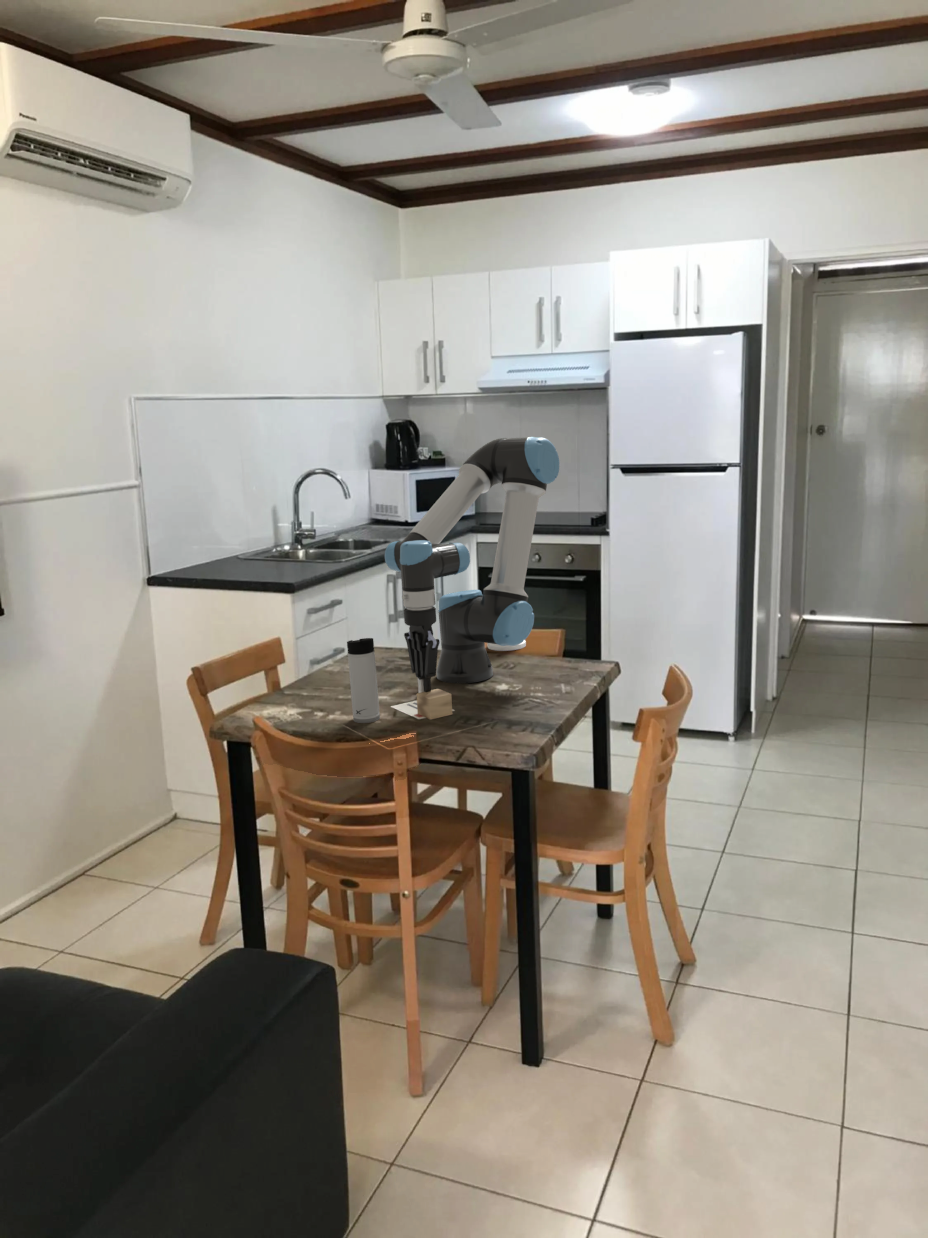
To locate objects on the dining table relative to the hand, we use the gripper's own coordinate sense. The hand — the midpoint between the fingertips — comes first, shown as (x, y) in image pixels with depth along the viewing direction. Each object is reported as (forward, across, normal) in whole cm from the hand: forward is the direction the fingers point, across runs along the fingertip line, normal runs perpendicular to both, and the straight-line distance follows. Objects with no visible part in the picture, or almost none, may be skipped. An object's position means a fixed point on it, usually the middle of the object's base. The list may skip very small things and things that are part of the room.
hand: (425, 703), depth 239 cm
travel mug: (+2, -4, -14) cm, 15 cm away
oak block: (+2, +4, 0) cm, 4 cm away
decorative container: (+2, -41, +52) cm, 66 cm away
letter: (+2, -2, 0) cm, 3 cm away
